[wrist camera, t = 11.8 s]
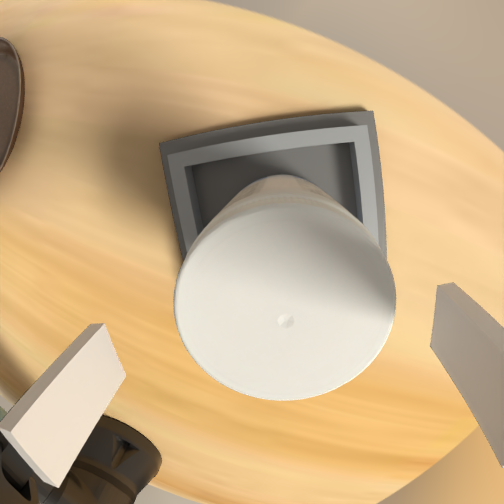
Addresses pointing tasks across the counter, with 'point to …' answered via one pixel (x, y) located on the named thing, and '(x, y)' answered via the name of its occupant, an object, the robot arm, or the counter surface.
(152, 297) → the counter surface
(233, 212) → the supplement tub
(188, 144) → the board
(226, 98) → the counter surface
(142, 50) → the counter surface
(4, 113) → the plant saucer
